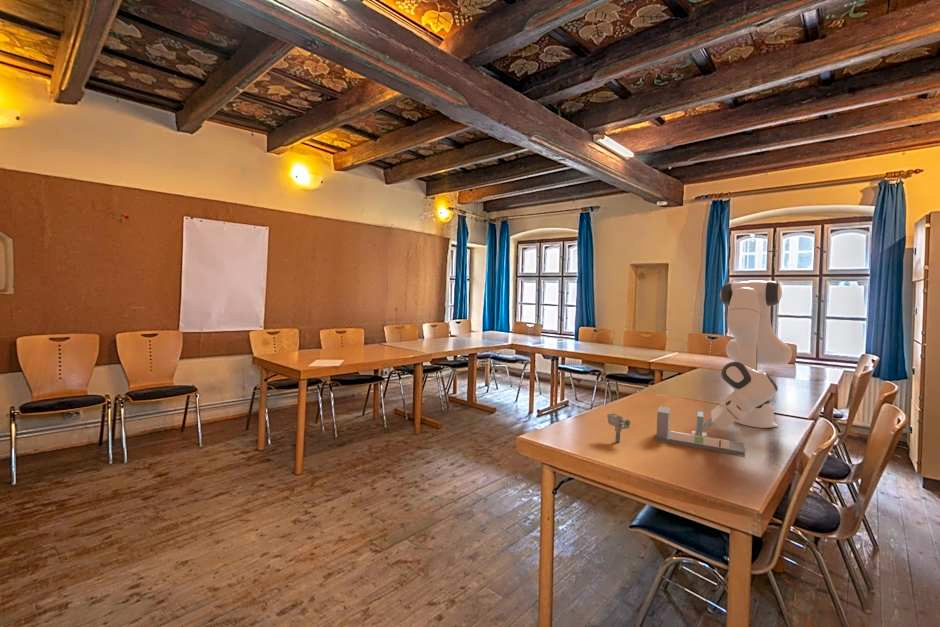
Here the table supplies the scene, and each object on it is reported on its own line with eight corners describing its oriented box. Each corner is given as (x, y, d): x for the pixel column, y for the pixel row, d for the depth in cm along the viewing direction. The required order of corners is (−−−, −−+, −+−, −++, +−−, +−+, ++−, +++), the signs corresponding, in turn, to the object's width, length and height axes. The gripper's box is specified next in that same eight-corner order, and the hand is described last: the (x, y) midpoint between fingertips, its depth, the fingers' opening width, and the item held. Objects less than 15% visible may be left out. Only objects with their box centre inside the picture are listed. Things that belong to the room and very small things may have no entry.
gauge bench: (658, 432, 183) (659, 405, 183) (742, 446, 169) (743, 417, 169) (655, 440, 173) (657, 412, 172) (744, 456, 159) (746, 425, 158)
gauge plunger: (692, 435, 176) (693, 410, 175) (706, 437, 173) (707, 412, 173) (691, 442, 167) (692, 416, 166) (706, 445, 164) (707, 418, 164)
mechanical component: (624, 446, 165) (626, 420, 164) (605, 438, 174) (606, 413, 174) (630, 445, 166) (631, 419, 166) (610, 437, 175) (611, 412, 175)
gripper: (727, 394, 175) (698, 414, 180) (730, 405, 157) (698, 427, 162) (739, 406, 173) (710, 427, 178) (743, 419, 155) (711, 441, 160)
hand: (704, 427), depth 170 cm, fingers closed, pressing on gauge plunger
